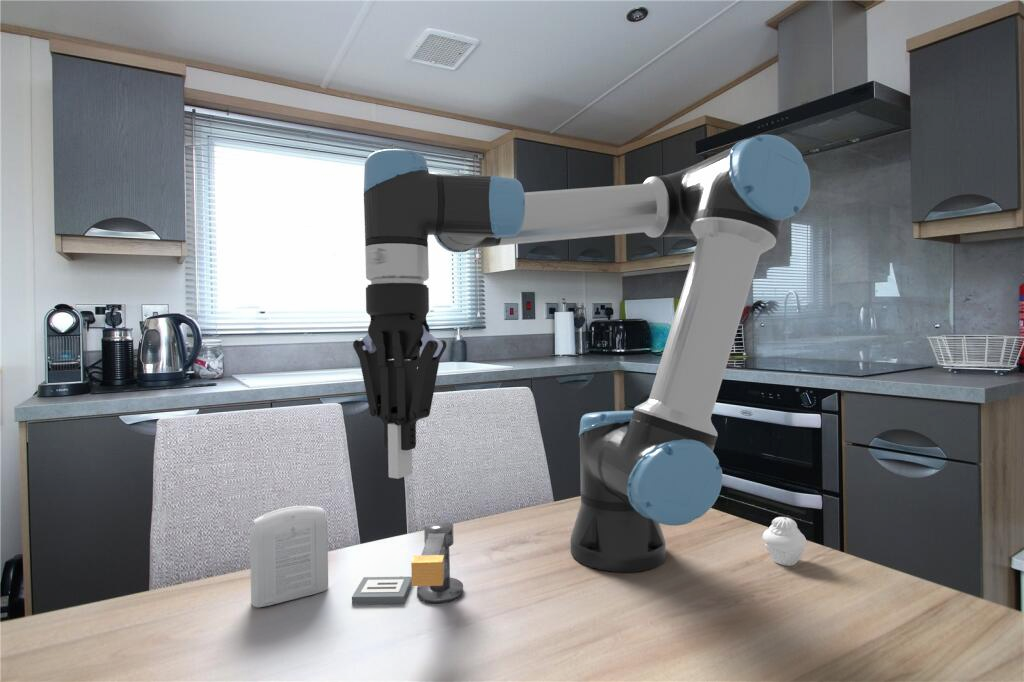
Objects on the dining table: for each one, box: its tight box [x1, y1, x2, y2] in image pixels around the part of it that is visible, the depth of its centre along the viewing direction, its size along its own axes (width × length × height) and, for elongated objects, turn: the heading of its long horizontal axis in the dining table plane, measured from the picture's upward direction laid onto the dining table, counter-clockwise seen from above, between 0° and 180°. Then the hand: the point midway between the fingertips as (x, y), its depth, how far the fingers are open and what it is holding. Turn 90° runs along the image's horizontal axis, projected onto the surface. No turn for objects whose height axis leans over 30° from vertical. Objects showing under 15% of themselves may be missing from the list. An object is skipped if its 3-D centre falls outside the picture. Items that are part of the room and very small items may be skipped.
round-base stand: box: [416, 547, 464, 605], centre depth 80 cm, size 6×6×7 cm
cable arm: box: [410, 520, 455, 587], centre depth 74 cm, size 14×4×3 cm, turn 1°
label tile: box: [351, 576, 412, 605], centre depth 80 cm, size 7×6×1 cm
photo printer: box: [249, 505, 329, 608], centre depth 80 cm, size 10×4×12 cm, turn 123°
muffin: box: [762, 516, 807, 567], centre depth 88 cm, size 6×6×7 cm
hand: (400, 475), depth 70 cm, fingers closed
